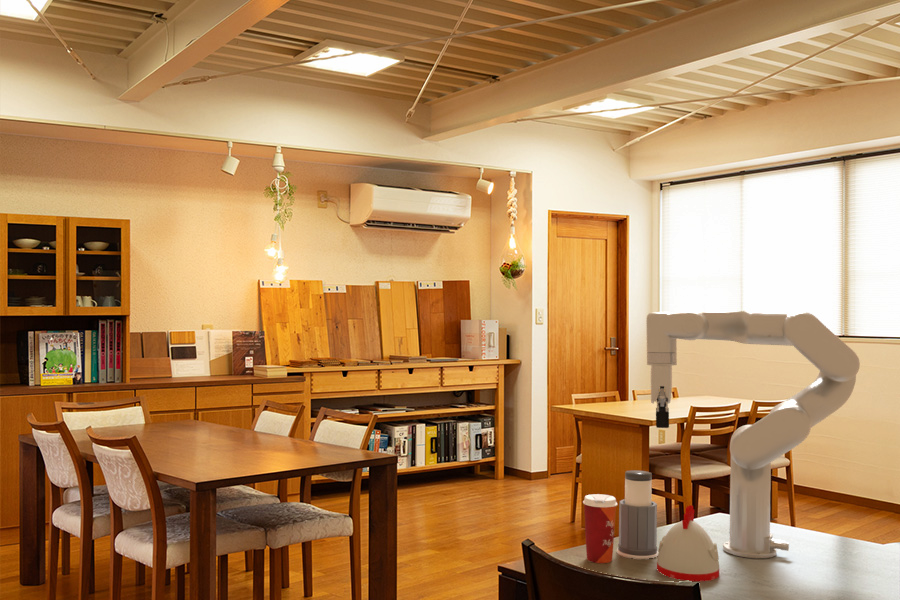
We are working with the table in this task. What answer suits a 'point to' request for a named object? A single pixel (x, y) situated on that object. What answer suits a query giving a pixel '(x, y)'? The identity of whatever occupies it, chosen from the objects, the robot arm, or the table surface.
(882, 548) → the table surface
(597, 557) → the coffee cup
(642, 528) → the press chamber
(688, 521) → the kitchen timer
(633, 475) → the plunger
